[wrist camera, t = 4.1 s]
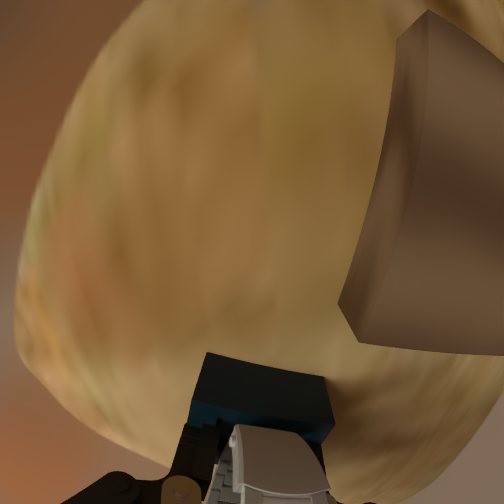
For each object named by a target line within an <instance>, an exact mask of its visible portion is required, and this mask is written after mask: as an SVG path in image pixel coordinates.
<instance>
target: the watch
mask: <svg viewBox="0 0 504 504" xmlns="http://www.w3.org/2000/svg"><path fill="white" fill-rule="evenodd" d="M217 420H221V421H222V423H221V429H220V435H219V440H218V446H217V451H216V457H215V463H214V464H217V467H216V470H215V474H214V477H213V480H212V483H211V488H210V491H209V495H208V498H207V502H206V503H207V504H237V503H241V504H328V502H327V498H326V494H325V493H326V492H327V491H330V490H331V488H330V485H329V483H328V480H327V478H326V476H325V473H324V471H323V469H322V467H321V465H320V463H319V461H318V459H317V457H316V456H315V454H314V453H313V451H312V450H311V448H310V447H309V446H308V444H307V443H306V442H305V441H304V440H303V439H309V442H310V445H321V444H322V442H323V441H324V440H325V438H326V437H327V436H328V434H329V433H330V431H331V430H332V429H333V427H334V426H335V420H334V416H333V412H332V408H331V404H330V400H329V397H328V393H327V389H326V385H325V382H324V378H323V377H321V376H315V375H308V374H302V373H297V372H291V371H286V370H281V369H275V368H271V367H266V366H261V365H256V364H252V363H248V362H243V361H239V360H235V359H231V358H227V357H223V356H219V355H215V354H212V353H208V352H207V353H206V356H205V359H204V362H203V365H202V369H201V372H200V375H199V378H198V381H197V384H196V387H195V391H194V394H193V397H192V400H191V405H190V410H189V415H188V421H187V425H190V426H194V427H198V428H202V426H203V423H206V424H210V425H214V426H216V422H217ZM296 433H299V435H298V434H296ZM215 488H216V489H215ZM220 489H221V490H220ZM218 500H221V501H218ZM224 501H227V502H224ZM230 502H234V503H230Z"/></svg>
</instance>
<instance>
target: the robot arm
mask: <svg viewBox="0 0 504 504" xmlns="http://www.w3.org/2000/svg"><path fill="white" fill-rule="evenodd" d="M221 423H222V421H221V420H217V422H216V426H214V425H210V424H206V423H203V426H202V428H198V427H194V426H190V425H187V423H186V424H185V425H184V428H183V431H182V435H181V438H180V441H179V444H178V447H177V450H176V454H175V457H174V460H173V463H172V467H171V470H170V472H169V474H168V475H167V476H165V477H164V478H162V479H159V480H154V481H149V480H136V479H135V478H133V477H132V476H131V475H129V474H127V473H125V472H121V471H114V472H110V473H108V474H106V475H105V476H103V477H102V478H100V479H99V480H97V481H96V482H94V483H93V484H91V485H90V486H88V487H87V488H85V489H84V490H82V491H80V492H79V493H77V494H76V495H74V496H73V497H71V498H70V499H68V500H66V501H64V502H63V503H61V504H202V503H201V501H204V499H205V496H206V494H207V491H208V488H209V486H210V483H211V480H212V474H213V468H214V463H215V457H216V451H217V446H218V440H219V435H220V429H221ZM296 434H298V435H299V433H296ZM303 440H304V441H305V442H306V443H307V444H308V446H309V447H310V448H311V450H312V451H313V453H314V454H315V456H316V457H317V459H318V461H319V463H320V465H321V467H322V469H323V471H324V473H325V476H326V472H325V465H324V459H323V453H322V448H321V445H310V442H309V439H303ZM325 494H326V498H327V502H328V504H342V503H339V502H337V501H336V500H335V498H334V497H333V496H331V495H330V493H329V491H327V492H326V493H325ZM364 504H376V503H372V502H368V503H364Z"/></svg>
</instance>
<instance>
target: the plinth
mask: <svg viewBox="0 0 504 504" xmlns="http://www.w3.org/2000/svg"><path fill="white" fill-rule="evenodd" d="M338 305H339V307H340V309H341V311H342V313H343V314H344V316H345V318H346V320H347V322H348V324H349V325H350V327H351V329H352V331H353V333H354V335H355V337H356V338H357V340H358V342H359V343H366V344H373V345H380V346H388V347H395V348H404V349H412V350H422V351H432V352H443V353H456V354H472V355H494V356H504V63H503V62H502V61H500V60H499V59H498V58H497V57H496V56H495V55H493V54H492V53H491V52H490V51H489V50H487V49H486V48H485V47H484V46H482V45H481V44H480V43H478V42H477V41H476V40H475V39H473V38H472V37H470V36H469V35H468V34H466V33H465V32H463V31H462V30H461V29H459V28H458V27H456V26H455V25H453V24H452V23H450V22H448V21H447V20H445V19H444V18H442V17H440V16H439V15H437V14H435V13H434V12H432V11H430V10H427V11H426V12H425V13H424V14H422V15H421V16H420V17H419V18H418V19H417V20H416V21H415V22H414V23H413V24H412V25H411V26H410V27H409V28H408V29H407V30H406V31H405V32H404V33H403V34H402V35H401V36H400V37H399V38H398V39H397V50H396V61H395V70H394V79H393V87H392V94H391V101H390V108H389V114H388V120H387V125H386V131H385V136H384V141H383V146H382V151H381V156H380V161H379V165H378V170H377V174H376V178H375V183H374V187H373V191H372V195H371V199H370V202H369V206H368V210H367V214H366V217H365V221H364V224H363V228H362V231H361V235H360V238H359V241H358V245H357V248H356V251H355V254H354V257H353V260H352V263H351V267H350V270H349V273H348V275H347V278H346V281H345V284H344V287H343V290H342V293H341V295H340V298H339V301H338Z"/></svg>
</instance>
